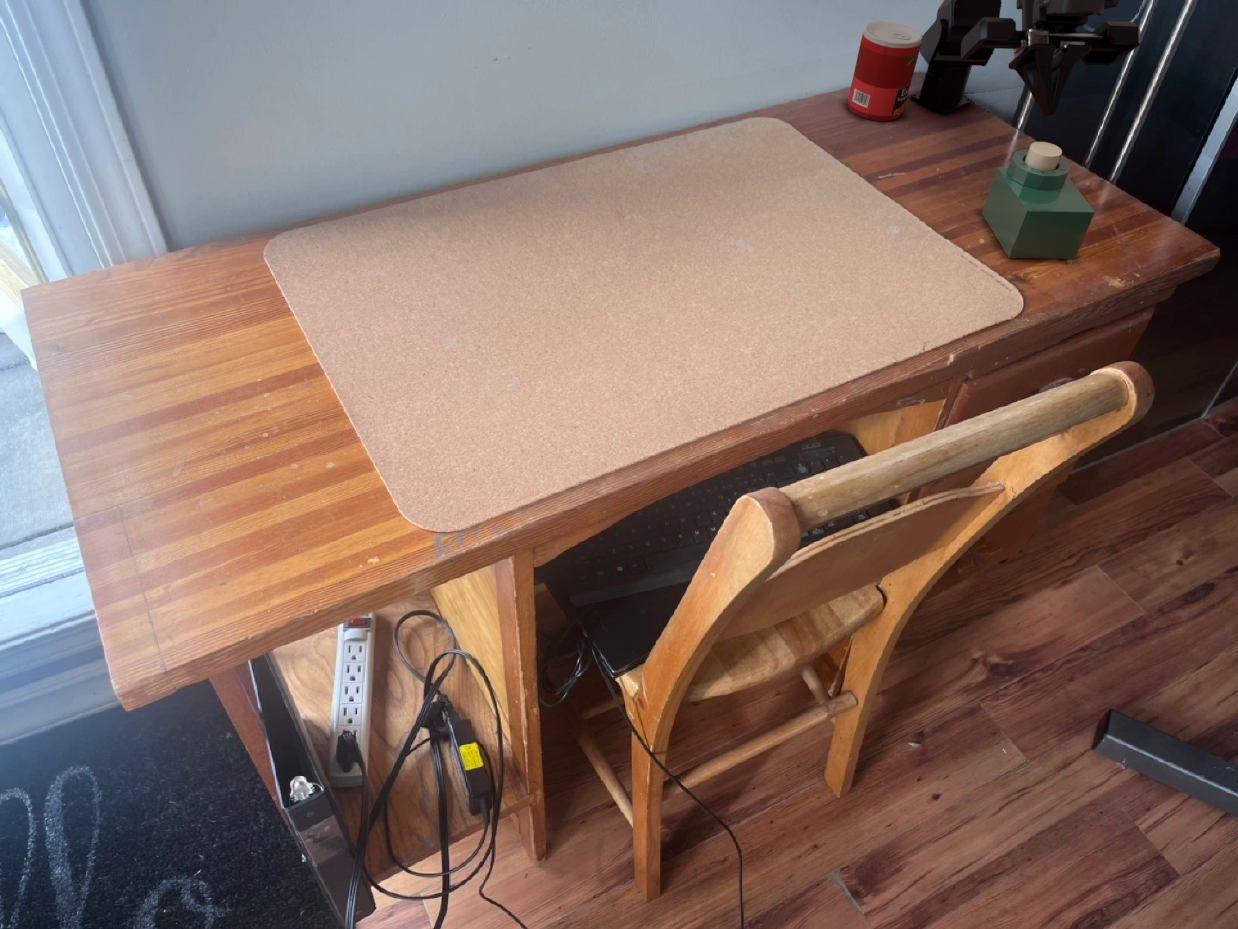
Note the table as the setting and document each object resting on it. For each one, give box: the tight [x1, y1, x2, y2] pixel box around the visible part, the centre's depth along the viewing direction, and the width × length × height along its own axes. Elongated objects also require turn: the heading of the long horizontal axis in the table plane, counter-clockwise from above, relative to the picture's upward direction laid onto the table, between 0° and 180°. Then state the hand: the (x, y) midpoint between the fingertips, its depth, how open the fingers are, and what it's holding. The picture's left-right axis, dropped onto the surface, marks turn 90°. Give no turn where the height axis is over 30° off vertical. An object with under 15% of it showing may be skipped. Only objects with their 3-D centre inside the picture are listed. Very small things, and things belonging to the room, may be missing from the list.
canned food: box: [847, 21, 923, 122], centre depth 137 cm, size 8×8×11 cm
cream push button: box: [1024, 141, 1063, 171], centre depth 114 cm, size 4×4×2 cm
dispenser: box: [981, 148, 1096, 260], centre depth 116 cm, size 11×8×8 cm
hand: (1049, 115), depth 113 cm, fingers closed
